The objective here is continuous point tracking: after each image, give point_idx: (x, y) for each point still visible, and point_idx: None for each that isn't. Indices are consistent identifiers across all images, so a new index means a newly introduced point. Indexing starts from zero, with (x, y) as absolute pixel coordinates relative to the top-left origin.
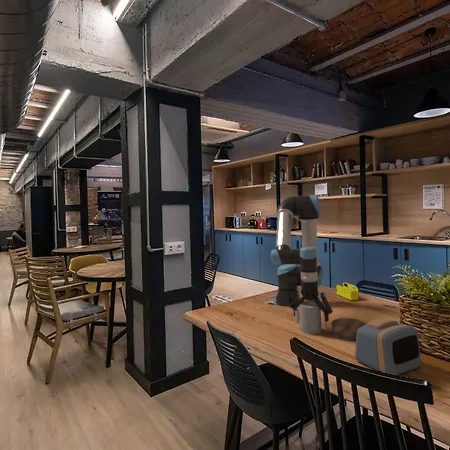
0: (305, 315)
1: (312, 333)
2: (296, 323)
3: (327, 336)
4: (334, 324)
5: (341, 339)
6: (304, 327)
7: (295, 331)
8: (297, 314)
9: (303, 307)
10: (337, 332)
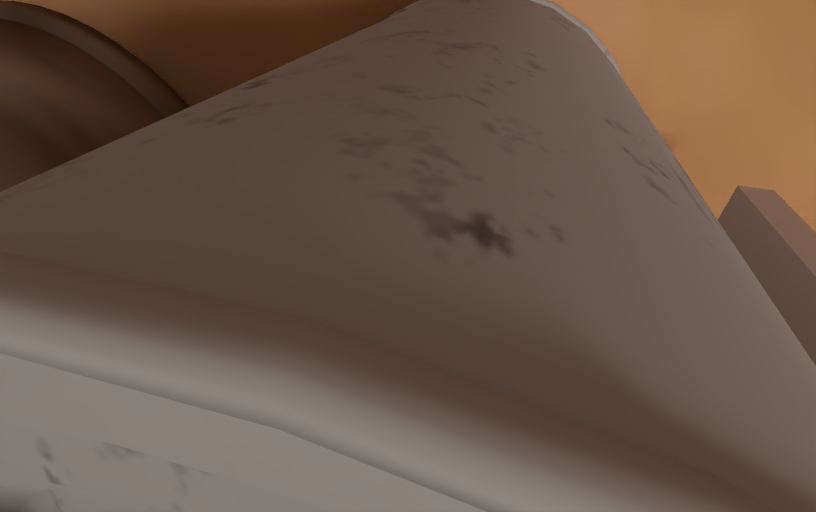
0: (464, 60)
1: (398, 12)
2: (754, 192)
3: (204, 35)
4: (30, 162)
5: (33, 5)
6: (540, 17)
7: (739, 12)
8: (811, 351)
9: (609, 425)
10: (25, 53)
